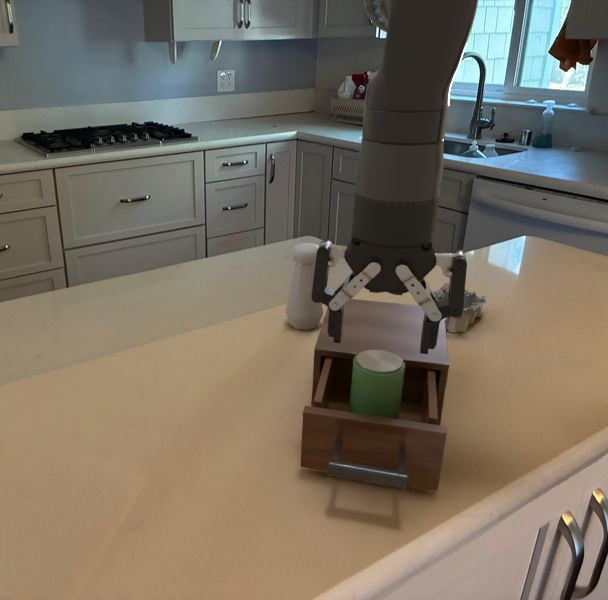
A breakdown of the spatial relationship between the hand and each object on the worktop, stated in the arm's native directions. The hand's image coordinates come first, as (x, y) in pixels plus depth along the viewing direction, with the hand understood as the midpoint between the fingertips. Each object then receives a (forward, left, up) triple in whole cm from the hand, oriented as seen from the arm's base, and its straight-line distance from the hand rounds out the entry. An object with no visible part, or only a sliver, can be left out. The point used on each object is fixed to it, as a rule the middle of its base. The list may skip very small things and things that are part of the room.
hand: (380, 345), depth 63 cm
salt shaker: (+12, -29, -13) cm, 34 cm away
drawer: (0, +2, -12) cm, 12 cm away
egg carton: (-10, -37, -13) cm, 40 cm away
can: (0, 0, -11) cm, 11 cm away
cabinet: (0, -13, -13) cm, 18 cm away
